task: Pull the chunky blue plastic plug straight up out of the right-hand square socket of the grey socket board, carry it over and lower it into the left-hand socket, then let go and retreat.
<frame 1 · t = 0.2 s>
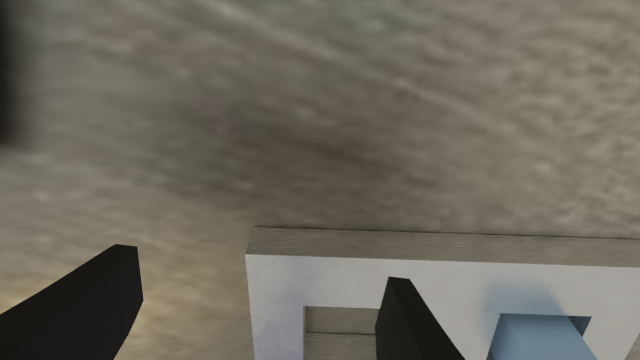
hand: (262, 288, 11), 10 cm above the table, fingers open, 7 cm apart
grey socket board: (429, 309, 25), on the table
plug: (515, 312, 25), resting in grey socket board
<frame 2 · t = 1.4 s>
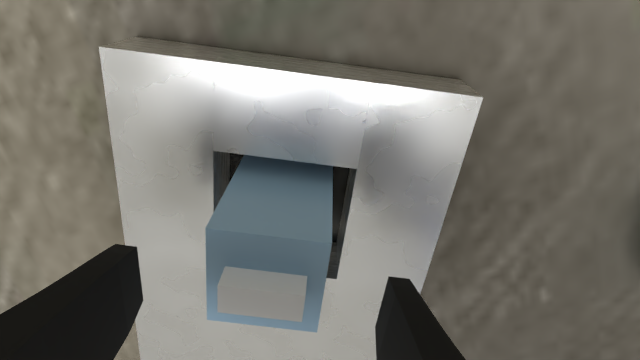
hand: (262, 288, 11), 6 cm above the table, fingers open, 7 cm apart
grey socket board: (278, 285, 19), on the table
plug: (287, 188, 17), resting in grey socket board
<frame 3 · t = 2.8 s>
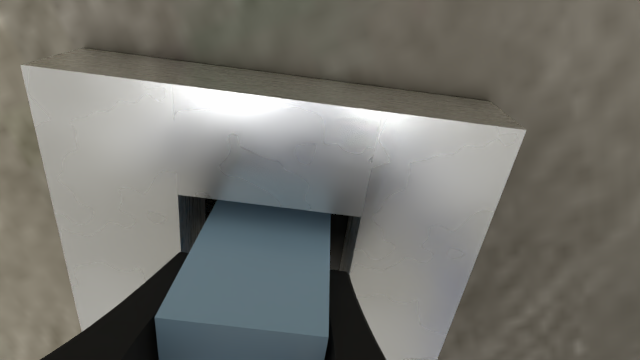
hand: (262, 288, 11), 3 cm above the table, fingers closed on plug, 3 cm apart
grey socket board: (266, 335, 16), on the table
plug: (276, 228, 14), resting in grey socket board, touching gripper
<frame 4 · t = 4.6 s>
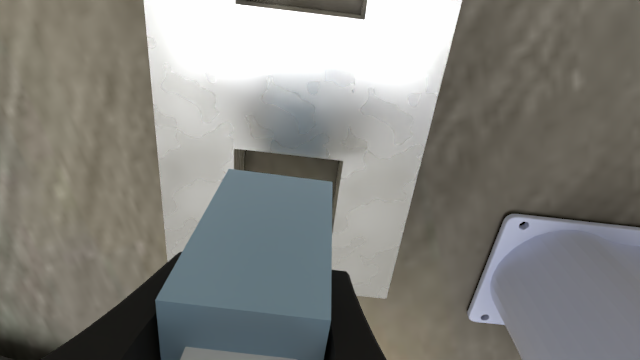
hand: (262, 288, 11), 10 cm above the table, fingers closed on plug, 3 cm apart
grey socket board: (298, 76, 18), on the table
plug: (277, 218, 14), point 7 cm above the table, touching gripper
when the fingers open (4 cm above the table, at t = 6.6 s): plug drops 1 cm, resting in grey socket board.
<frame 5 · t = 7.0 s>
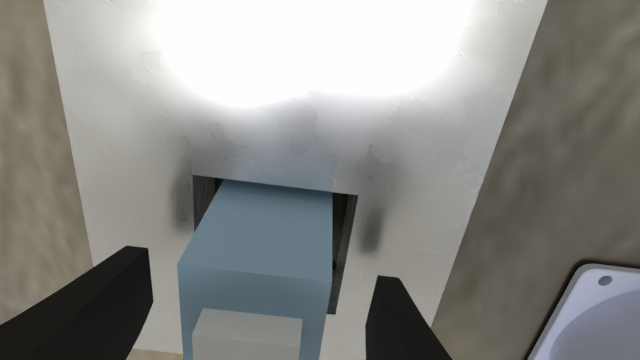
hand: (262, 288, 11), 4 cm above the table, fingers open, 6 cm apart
grey socket board: (292, 66, 12), on the table
plug: (281, 203, 15), resting in grey socket board
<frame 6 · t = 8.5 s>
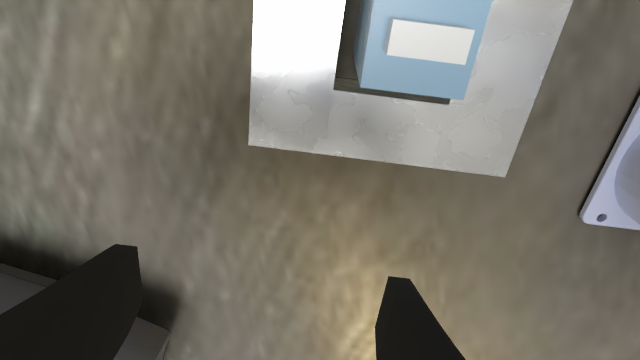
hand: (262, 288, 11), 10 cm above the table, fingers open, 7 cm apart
plug: (397, 21, 17), resting in grey socket board
bluetooth speaker: (9, 279, 26), on the table
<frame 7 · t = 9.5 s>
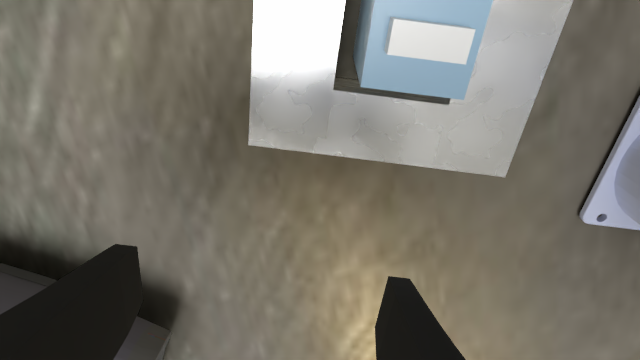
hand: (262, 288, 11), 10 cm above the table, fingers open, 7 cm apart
plug: (397, 21, 17), resting in grey socket board
bluetooth speaker: (9, 278, 26), on the table
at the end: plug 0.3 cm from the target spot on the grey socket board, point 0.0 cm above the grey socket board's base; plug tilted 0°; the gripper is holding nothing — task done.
